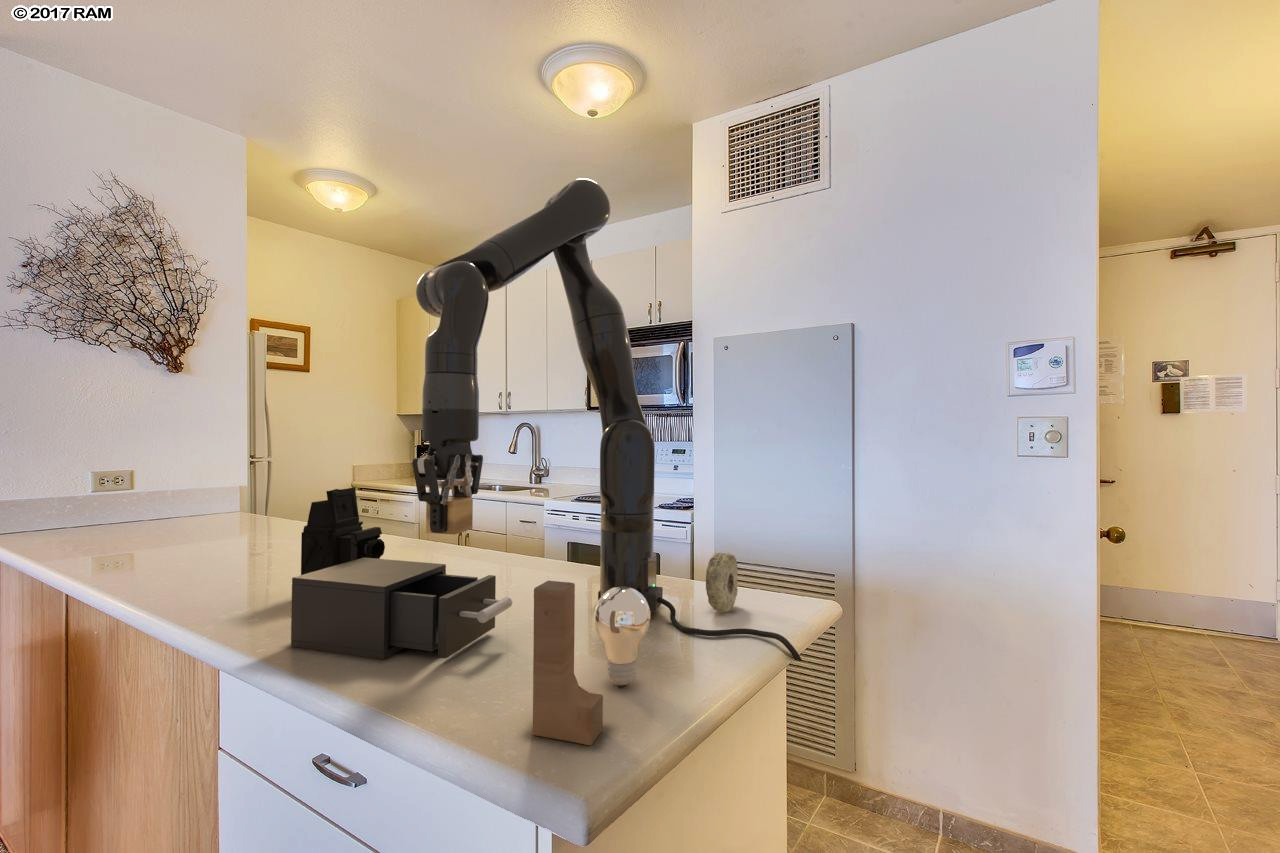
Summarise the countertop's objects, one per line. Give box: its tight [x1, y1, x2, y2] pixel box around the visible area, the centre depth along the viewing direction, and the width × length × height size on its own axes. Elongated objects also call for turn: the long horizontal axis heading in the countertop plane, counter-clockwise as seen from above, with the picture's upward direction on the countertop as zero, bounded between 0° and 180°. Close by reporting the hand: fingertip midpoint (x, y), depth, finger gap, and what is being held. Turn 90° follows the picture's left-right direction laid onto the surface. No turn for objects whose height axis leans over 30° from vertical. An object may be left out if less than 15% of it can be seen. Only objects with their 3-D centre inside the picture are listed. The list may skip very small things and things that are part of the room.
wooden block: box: [531, 580, 604, 746], centre depth 58 cm, size 7×3×15 cm, turn 73°
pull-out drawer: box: [388, 573, 513, 659], centre depth 82 cm, size 19×13×8 cm, turn 74°
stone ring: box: [705, 552, 739, 613], centre depth 99 cm, size 10×4×10 cm, turn 150°
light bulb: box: [593, 586, 652, 688], centre depth 69 cm, size 7×7×12 cm
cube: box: [425, 496, 474, 536], centre depth 79 cm, size 4×4×4 cm
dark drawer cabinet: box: [290, 558, 447, 660], centre depth 85 cm, size 16×14×10 cm
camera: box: [300, 486, 386, 575], centre depth 105 cm, size 10×14×20 cm
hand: (449, 528), depth 79 cm, fingers closed on cube, 4 cm apart
